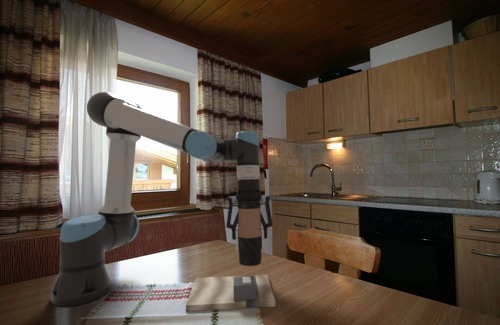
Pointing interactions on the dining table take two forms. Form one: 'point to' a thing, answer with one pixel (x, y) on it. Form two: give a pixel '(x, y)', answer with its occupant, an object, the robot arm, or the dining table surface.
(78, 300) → the robot arm
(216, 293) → the panel
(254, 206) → the travel mug
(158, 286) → the dining table surface
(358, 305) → the dining table surface
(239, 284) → the grey small block
